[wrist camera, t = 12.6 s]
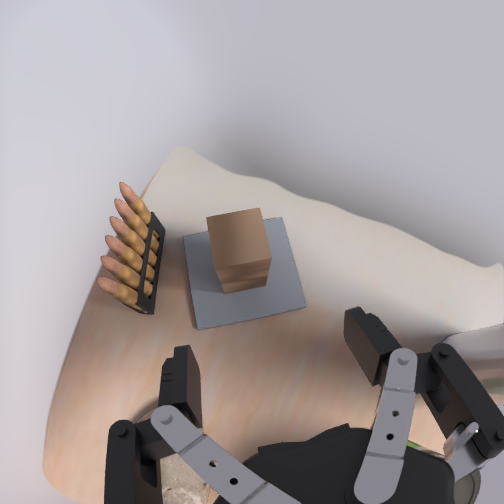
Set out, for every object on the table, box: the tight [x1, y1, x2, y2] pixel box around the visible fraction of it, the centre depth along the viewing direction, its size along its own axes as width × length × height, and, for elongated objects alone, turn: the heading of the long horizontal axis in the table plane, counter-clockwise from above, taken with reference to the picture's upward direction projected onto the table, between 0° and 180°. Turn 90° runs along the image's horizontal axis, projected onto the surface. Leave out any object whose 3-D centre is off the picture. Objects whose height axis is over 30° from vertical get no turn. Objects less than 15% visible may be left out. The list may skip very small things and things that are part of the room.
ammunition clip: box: [97, 182, 165, 315], centre depth 27 cm, size 11×2×12 cm, turn 178°
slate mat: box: [183, 217, 306, 330], centre depth 32 cm, size 12×11×1 cm
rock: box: [137, 406, 210, 504], centre depth 24 cm, size 15×4×10 cm
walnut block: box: [206, 208, 272, 294], centre depth 27 cm, size 4×4×10 cm
